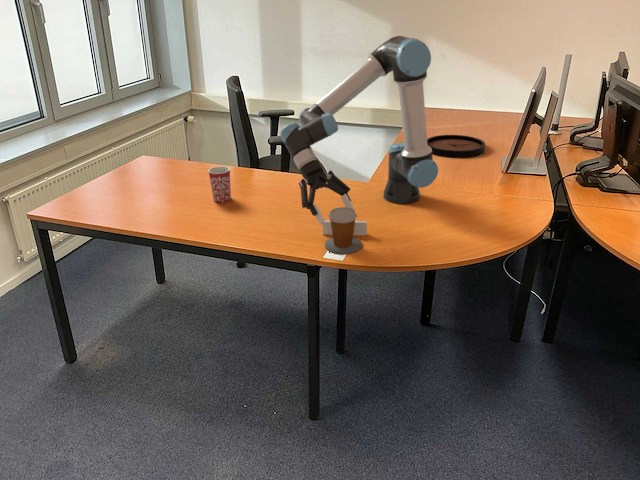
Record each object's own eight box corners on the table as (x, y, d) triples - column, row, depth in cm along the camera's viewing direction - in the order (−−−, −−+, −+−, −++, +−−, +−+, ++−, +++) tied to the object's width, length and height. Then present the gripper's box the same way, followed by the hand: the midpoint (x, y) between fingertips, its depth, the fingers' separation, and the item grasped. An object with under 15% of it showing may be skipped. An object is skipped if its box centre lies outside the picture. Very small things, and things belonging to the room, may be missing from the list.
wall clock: (418, 147, 274) (432, 132, 300) (417, 155, 276) (431, 139, 301) (480, 153, 262) (489, 137, 288) (479, 161, 264) (488, 144, 290)
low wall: (366, 233, 192) (367, 221, 190) (366, 235, 191) (367, 222, 188) (323, 233, 193) (322, 220, 191) (322, 234, 192) (322, 221, 190)
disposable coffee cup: (354, 251, 179) (354, 218, 173) (327, 249, 181) (326, 217, 175) (358, 238, 187) (358, 207, 182) (331, 237, 189) (331, 206, 184)
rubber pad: (362, 237, 189) (362, 236, 189) (361, 254, 178) (361, 253, 177) (326, 236, 190) (326, 235, 190) (323, 253, 179) (323, 252, 179)
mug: (233, 202, 222) (230, 172, 216) (212, 205, 220) (208, 174, 214) (232, 192, 233) (229, 162, 227) (211, 194, 231) (207, 164, 225)
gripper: (330, 162, 194) (358, 211, 191) (275, 178, 180) (304, 232, 177) (340, 151, 188) (369, 202, 185) (283, 167, 174) (314, 222, 171)
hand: (337, 217), depth 181 cm, fingers open, 13 cm apart
